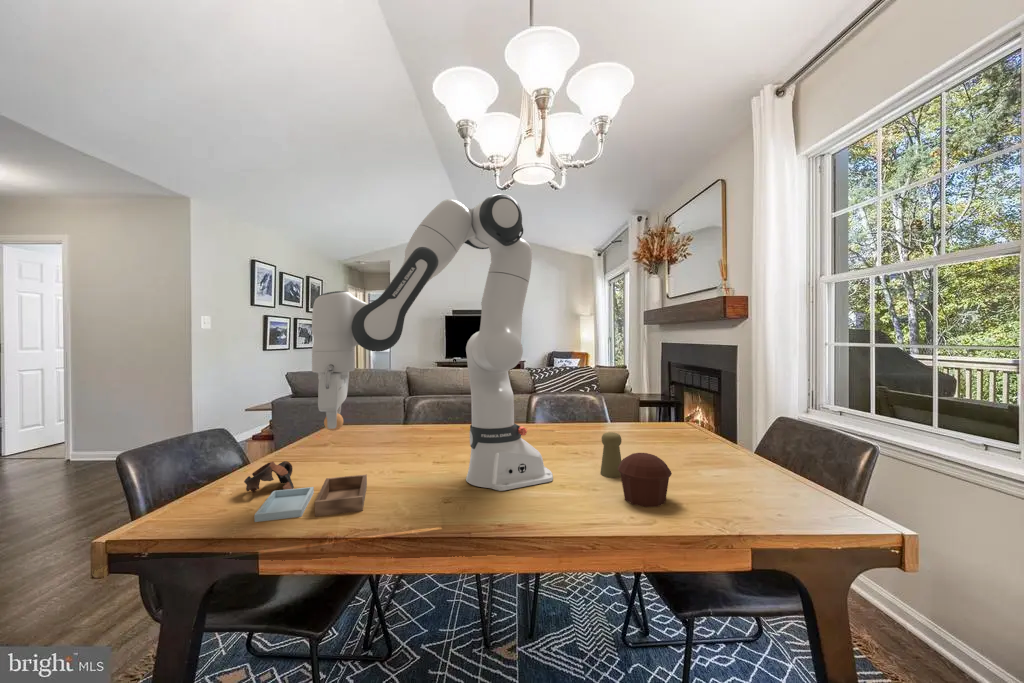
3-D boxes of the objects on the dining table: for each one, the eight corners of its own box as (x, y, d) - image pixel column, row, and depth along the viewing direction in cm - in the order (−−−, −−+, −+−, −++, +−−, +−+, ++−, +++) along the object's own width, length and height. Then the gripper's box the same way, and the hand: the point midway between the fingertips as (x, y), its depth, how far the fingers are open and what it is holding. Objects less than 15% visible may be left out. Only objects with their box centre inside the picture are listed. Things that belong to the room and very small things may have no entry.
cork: (626, 477, 109) (625, 435, 109) (602, 477, 109) (602, 435, 109) (620, 470, 115) (619, 430, 115) (598, 470, 115) (597, 430, 115)
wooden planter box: (366, 488, 103) (366, 474, 103) (362, 513, 88) (362, 496, 88) (326, 492, 101) (326, 478, 101) (315, 519, 86) (314, 502, 86)
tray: (313, 495, 99) (313, 486, 99) (301, 519, 86) (301, 509, 86) (273, 499, 97) (273, 490, 97) (254, 524, 84) (254, 514, 84)
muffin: (682, 501, 93) (682, 456, 93) (652, 514, 86) (652, 465, 86) (637, 486, 102) (636, 445, 102) (607, 497, 96) (606, 453, 96)
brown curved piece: (284, 501, 97) (262, 473, 96) (252, 517, 99) (230, 489, 97) (310, 472, 109) (291, 446, 107) (281, 486, 110) (262, 461, 109)
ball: (344, 428, 96) (344, 410, 96) (342, 431, 93) (342, 413, 93) (325, 429, 95) (325, 411, 95) (322, 433, 92) (322, 414, 92)
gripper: (343, 366, 85) (344, 434, 85) (352, 361, 105) (352, 417, 105) (309, 366, 83) (309, 436, 83) (325, 362, 103) (325, 418, 103)
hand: (333, 425), depth 94 cm, fingers closed on ball, 4 cm apart
